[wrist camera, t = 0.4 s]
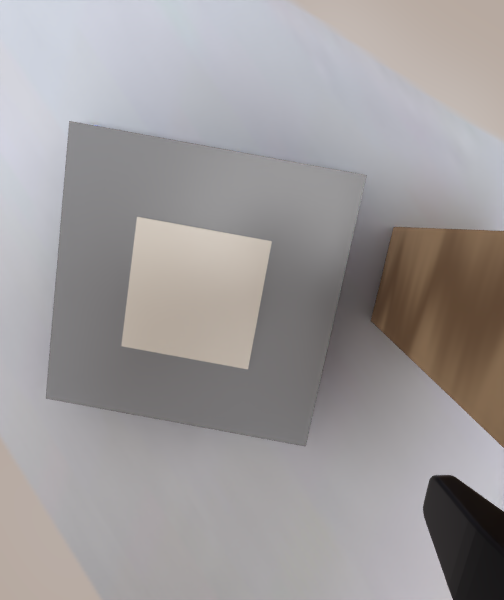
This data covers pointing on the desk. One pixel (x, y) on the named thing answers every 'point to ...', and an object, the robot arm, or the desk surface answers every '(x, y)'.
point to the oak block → (449, 313)
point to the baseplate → (197, 282)
